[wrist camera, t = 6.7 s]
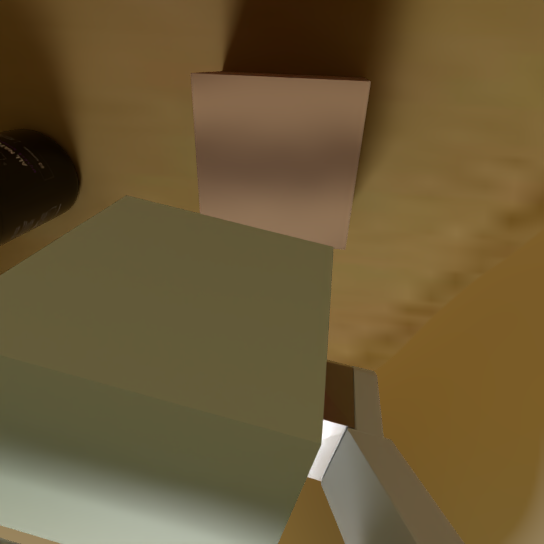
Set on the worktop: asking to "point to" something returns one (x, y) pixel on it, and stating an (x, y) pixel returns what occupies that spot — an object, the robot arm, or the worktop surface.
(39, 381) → the sage block
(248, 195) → the pinkish brown block
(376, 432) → the robot arm
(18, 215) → the supplement bottle
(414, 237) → the worktop surface
